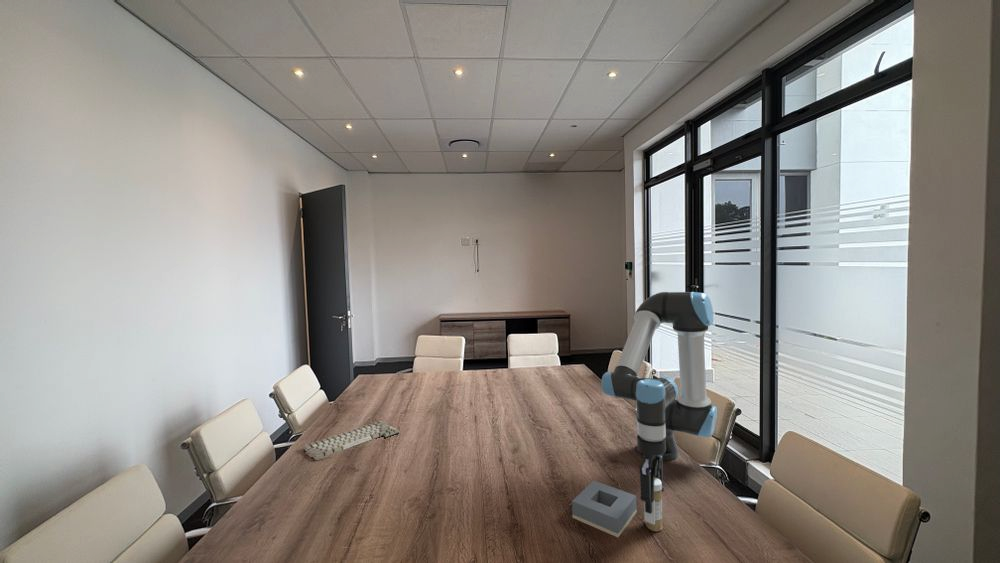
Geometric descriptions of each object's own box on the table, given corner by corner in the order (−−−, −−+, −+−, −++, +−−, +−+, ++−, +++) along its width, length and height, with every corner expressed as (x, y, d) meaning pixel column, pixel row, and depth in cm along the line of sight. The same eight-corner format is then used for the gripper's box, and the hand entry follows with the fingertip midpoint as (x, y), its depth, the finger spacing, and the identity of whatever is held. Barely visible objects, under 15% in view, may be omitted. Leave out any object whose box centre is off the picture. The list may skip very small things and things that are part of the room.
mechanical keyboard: (318, 466, 149) (317, 457, 149) (300, 452, 162) (300, 444, 162) (402, 435, 176) (401, 428, 176) (381, 425, 189) (380, 418, 189)
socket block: (593, 495, 123) (593, 480, 123) (636, 512, 114) (636, 495, 114) (572, 517, 112) (572, 501, 112) (618, 537, 104) (617, 519, 103)
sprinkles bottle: (649, 519, 111) (648, 474, 110) (665, 526, 108) (664, 479, 107) (642, 527, 107) (641, 480, 107) (659, 534, 104) (658, 486, 104)
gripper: (648, 423, 116) (649, 498, 117) (626, 444, 103) (628, 528, 103) (674, 429, 111) (675, 507, 112) (655, 451, 98) (656, 540, 99)
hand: (652, 517), depth 108 cm, fingers closed on sprinkles bottle, 4 cm apart
